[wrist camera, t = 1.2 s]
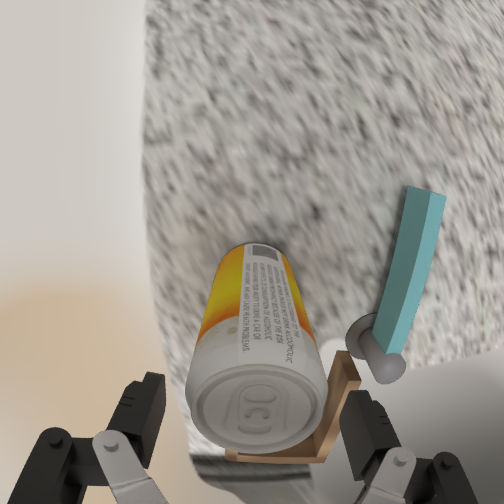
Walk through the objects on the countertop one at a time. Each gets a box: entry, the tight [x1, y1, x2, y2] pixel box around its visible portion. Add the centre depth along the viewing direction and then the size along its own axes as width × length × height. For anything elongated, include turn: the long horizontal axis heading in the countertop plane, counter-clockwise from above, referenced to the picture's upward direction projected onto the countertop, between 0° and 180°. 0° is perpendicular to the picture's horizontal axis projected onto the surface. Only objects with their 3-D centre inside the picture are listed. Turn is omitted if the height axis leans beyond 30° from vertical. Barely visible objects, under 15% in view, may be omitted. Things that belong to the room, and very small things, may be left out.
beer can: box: [185, 243, 328, 454], centre depth 18 cm, size 6×6×15 cm
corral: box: [225, 313, 378, 464], centre depth 27 cm, size 16×15×4 cm
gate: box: [359, 186, 446, 384], centre depth 23 cm, size 3×15×5 cm, turn 173°
